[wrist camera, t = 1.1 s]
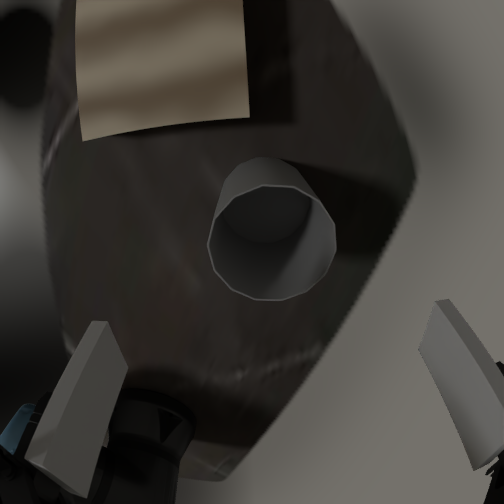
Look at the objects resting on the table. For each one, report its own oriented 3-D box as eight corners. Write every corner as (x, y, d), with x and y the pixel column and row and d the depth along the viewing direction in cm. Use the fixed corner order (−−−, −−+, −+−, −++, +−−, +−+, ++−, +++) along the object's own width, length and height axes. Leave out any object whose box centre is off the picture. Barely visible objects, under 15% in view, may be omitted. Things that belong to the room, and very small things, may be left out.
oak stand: (249, 116, 25) (249, 117, 21) (102, 135, 25) (82, 141, 22) (238, -53, 17) (237, -72, 13) (97, -24, 17) (80, -36, 13)
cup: (291, 143, 26) (314, 163, 17) (320, 222, 30) (350, 275, 21) (205, 179, 28) (184, 217, 19) (241, 252, 31) (239, 315, 22)
